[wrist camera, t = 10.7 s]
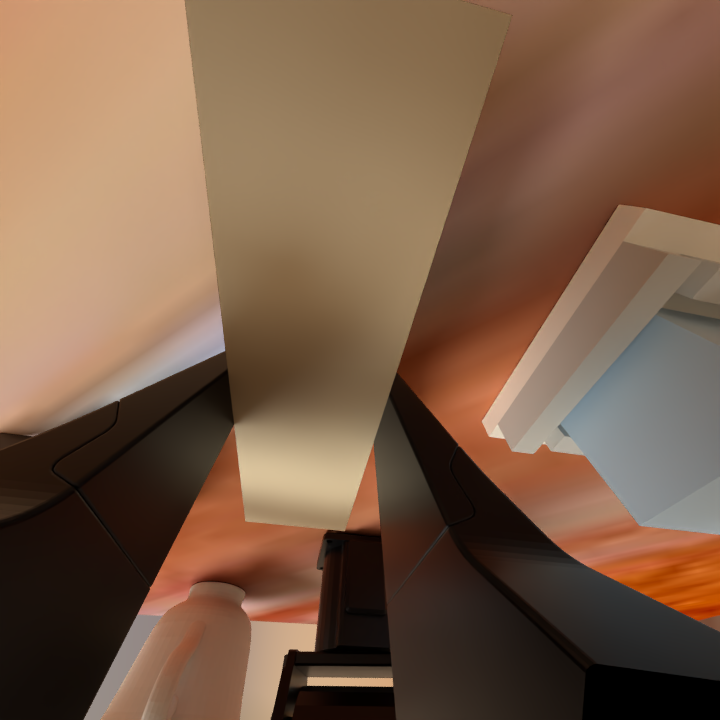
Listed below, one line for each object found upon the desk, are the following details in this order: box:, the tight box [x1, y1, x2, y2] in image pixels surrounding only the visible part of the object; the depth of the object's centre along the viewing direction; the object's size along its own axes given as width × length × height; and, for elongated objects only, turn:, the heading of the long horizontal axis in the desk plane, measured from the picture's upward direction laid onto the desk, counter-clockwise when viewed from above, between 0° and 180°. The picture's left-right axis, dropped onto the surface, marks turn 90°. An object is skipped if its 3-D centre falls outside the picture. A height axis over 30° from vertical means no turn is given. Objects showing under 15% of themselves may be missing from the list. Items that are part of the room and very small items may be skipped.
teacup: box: [100, 582, 251, 720], centre depth 25 cm, size 12×15×10 cm
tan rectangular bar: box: [185, 0, 512, 531], centre depth 8 cm, size 14×4×3 cm, turn 170°
